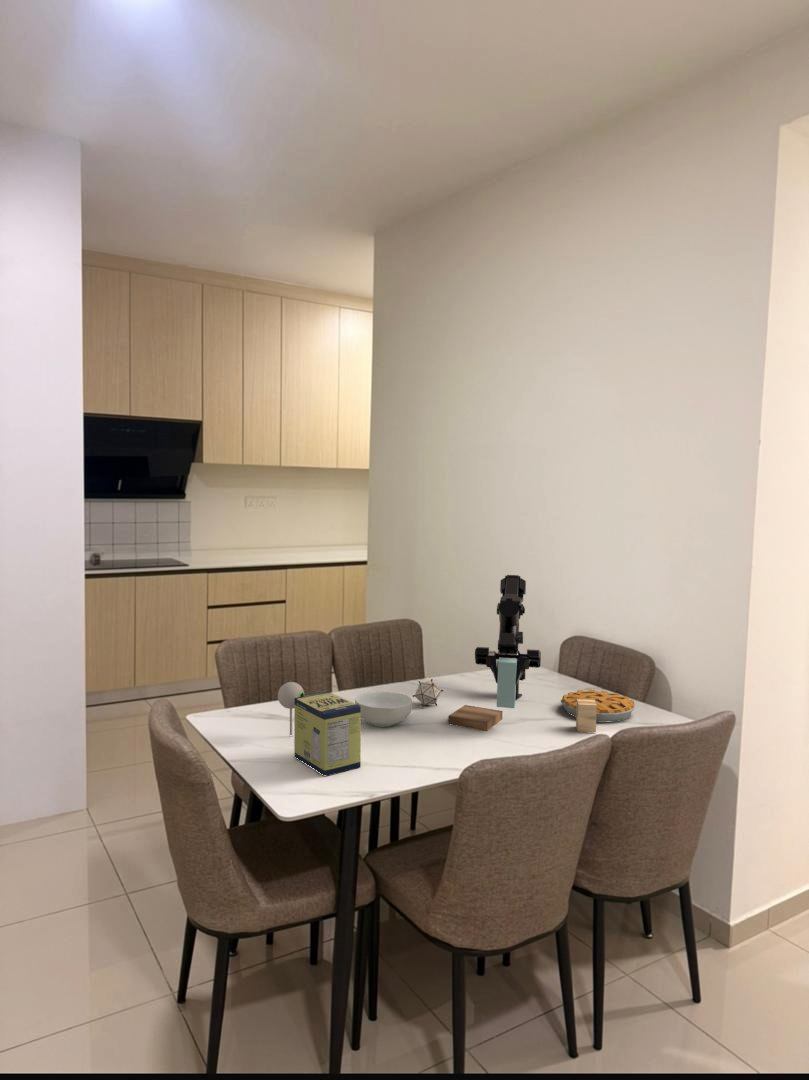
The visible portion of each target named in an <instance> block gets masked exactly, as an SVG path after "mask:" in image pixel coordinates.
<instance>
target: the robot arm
mask: <svg viewBox="0 0 809 1080" xmlns="http://www.w3.org/2000/svg"><path fill="white" fill-rule="evenodd" d="M526 581H527V580H525V579H523V578H522V577H521V575H518V574H507V575H504V578H502V579H500V584H499V587H500V588H499V589H500V590H499V592H500V594H502V596H501V597H500V598H499V599H500V601H499V602H498V603H497V604H496V605H497V606H496V615H498V618H499V632H498V634H499V635H498V640H497V652H496V651H495V650H490V647H489V646H487V647H486V646H485V647H484V646H477V647H475V648H474V660H475V664H476V665H484V666H486V667H487V668H489V669H490V670H491V673H492V675H493V678H494V681H495V683H496V684H497V681H498V661H499V657H502V658H516V659H517V670H516V694H515V701H518V699H520V698H521V697H522V696H523V693H520V692H519V691H520V681H524V680H526V670H529V669H530V668H540V667H541V662H542V661H541V659H542V658H541V657H542V656H541V655H542V654H541V653H542V652H541V650H539V649H529V648H528V649H526V653H521V652H520V651H519V645H522V644H524V631H519V630H520V619H521V616H523V615H524V614H526V613H525V612H526V607H525V605H524V604H523V601H524V595H526V593H527V591H526V590H527V589H526V588H527V587H526V586H527V582H526Z"/></svg>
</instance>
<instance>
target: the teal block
mask: <svg viewBox="0 0 809 1080" xmlns="http://www.w3.org/2000/svg"><path fill="white" fill-rule="evenodd" d="M497 661H498V660H497ZM516 670H517V659H516V658H502V657H499V661H498V681H497V683H496V685H497V686H496V687H497V688H496V708H506V709H515V707H516V700H515V694H516Z"/></svg>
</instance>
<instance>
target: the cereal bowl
mask: <svg viewBox="0 0 809 1080" xmlns="http://www.w3.org/2000/svg"><path fill="white" fill-rule="evenodd" d="M354 703H356V704H358V705H360V706H361V720H363V721H365V722H368V723H369V724H370V725H371V724H372V726H374V725H376V726H375V727H379V726H387V727H392V726H391V725H393V726H395V725H396V724H398V723H401V722H403V721H405V720H406V719H408V717H409V716H410V715H411V713H412V709H413V699H412V697H410V696H409V695H407V694H404V693H400V692H396V691H395V692H394V691H368V692H363V693H361V694H359V695H356V697H355V699H354Z"/></svg>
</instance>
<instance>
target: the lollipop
mask: <svg viewBox="0 0 809 1080" xmlns="http://www.w3.org/2000/svg"><path fill="white" fill-rule="evenodd" d="M303 696H305V691H304V689H303V687H302V686H301V685H300V684H299V683H297V682H294V681H288V682H285V683H283V684H282V685H281V686H280V687H279V690H278V692H277V700H278V703H279V704H280V706H282V707H283V708H286V709H288V710H289V736H290V735H292V736H293V709H294V698H297V697H303Z"/></svg>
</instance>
